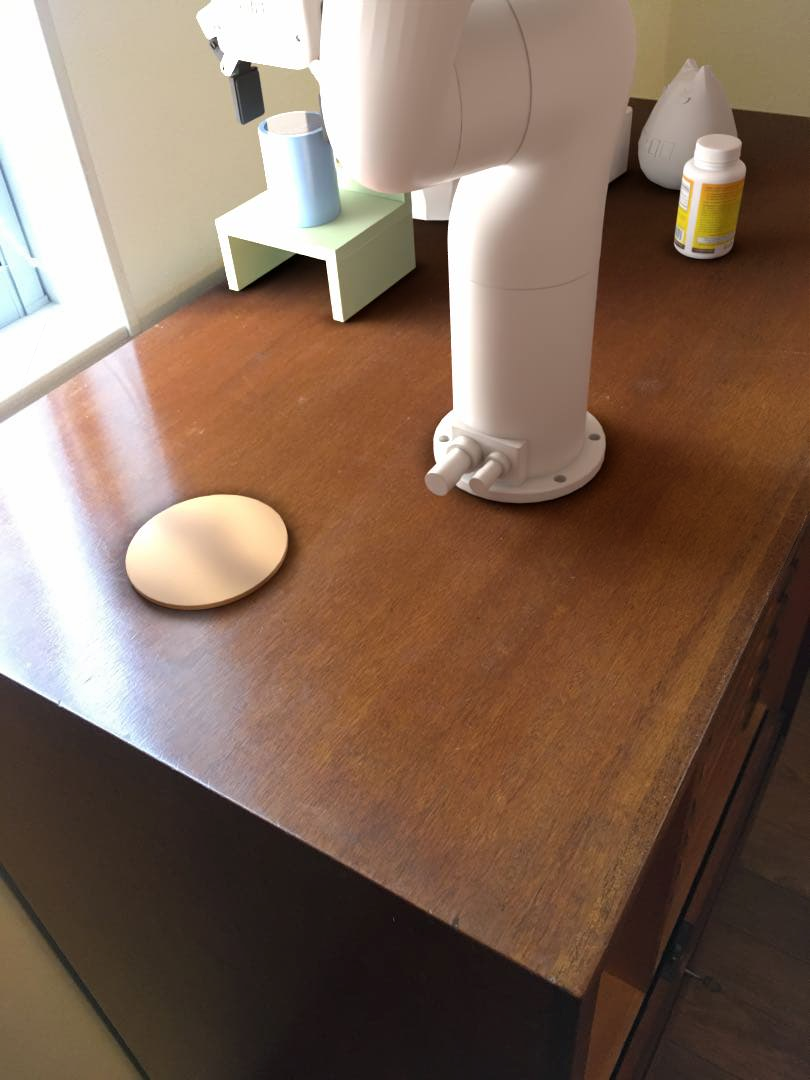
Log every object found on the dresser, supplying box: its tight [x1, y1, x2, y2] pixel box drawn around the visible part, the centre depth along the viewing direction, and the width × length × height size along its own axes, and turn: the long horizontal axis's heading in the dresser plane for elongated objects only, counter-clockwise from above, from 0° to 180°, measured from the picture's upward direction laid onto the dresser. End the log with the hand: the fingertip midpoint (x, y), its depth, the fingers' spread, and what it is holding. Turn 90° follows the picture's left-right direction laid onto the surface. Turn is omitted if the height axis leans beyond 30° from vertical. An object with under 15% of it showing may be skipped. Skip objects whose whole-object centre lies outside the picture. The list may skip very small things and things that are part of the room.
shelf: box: [214, 161, 417, 323], centre depth 89 cm, size 12×14×9 cm
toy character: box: [637, 57, 738, 191], centre depth 99 cm, size 10×10×12 cm
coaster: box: [124, 494, 289, 611], centre depth 63 cm, size 11×11×1 cm
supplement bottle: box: [673, 134, 747, 260], centre depth 88 cm, size 6×6×10 cm
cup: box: [257, 110, 342, 228], centre depth 84 cm, size 6×6×8 cm
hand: (293, 128), depth 81 cm, fingers open, 9 cm apart
